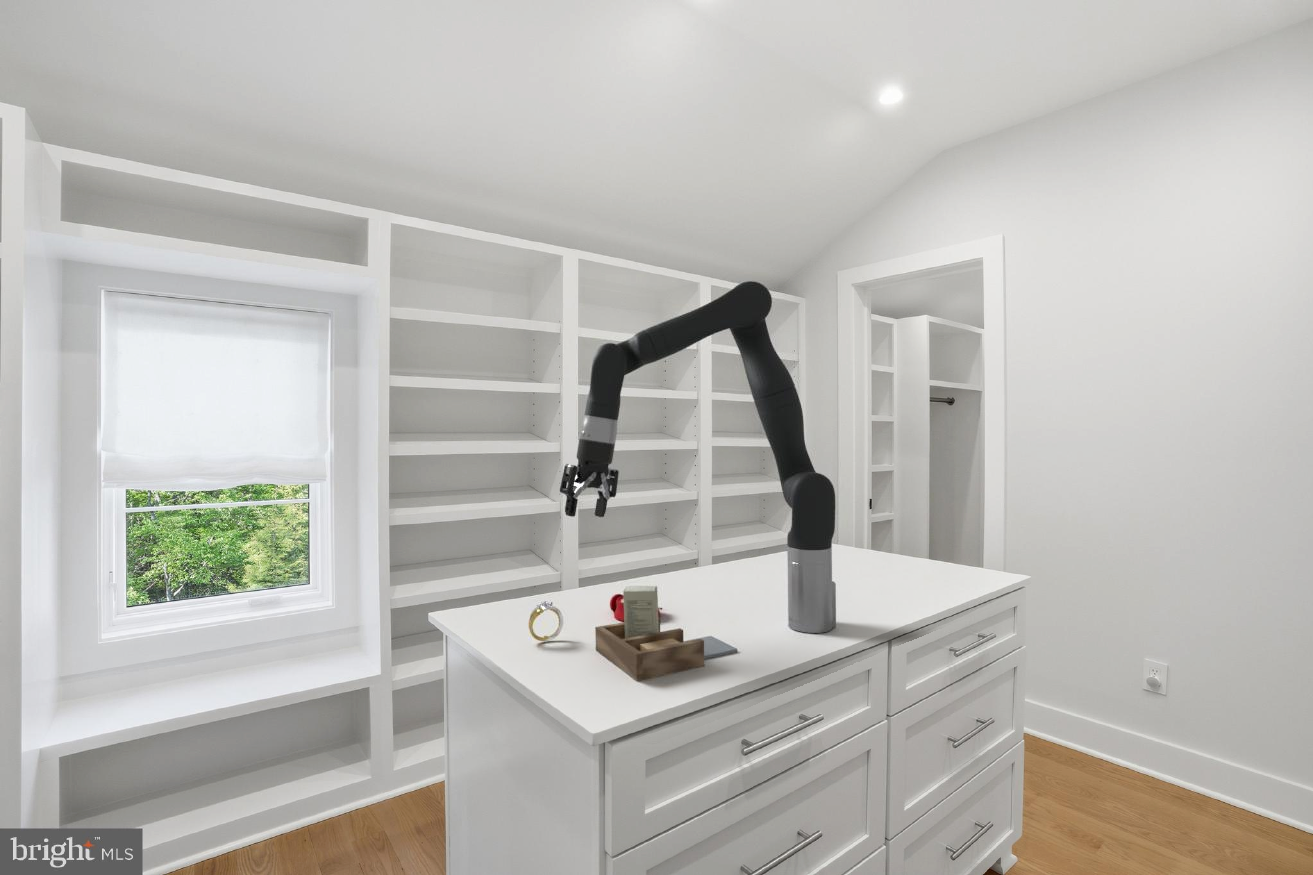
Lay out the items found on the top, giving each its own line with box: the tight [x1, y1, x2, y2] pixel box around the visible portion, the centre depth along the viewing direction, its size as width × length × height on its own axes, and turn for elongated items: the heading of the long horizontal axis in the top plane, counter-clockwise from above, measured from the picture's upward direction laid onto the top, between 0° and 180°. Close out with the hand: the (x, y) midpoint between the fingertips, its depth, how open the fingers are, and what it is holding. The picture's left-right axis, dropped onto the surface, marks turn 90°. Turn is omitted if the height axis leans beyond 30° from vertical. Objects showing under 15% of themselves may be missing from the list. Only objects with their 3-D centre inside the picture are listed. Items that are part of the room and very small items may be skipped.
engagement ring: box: [527, 601, 564, 643], centre depth 124 cm, size 7×3×8 cm, turn 110°
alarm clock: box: [609, 593, 663, 622], centre depth 143 cm, size 11×6×15 cm
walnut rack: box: [595, 617, 705, 682], centre depth 114 cm, size 14×17×4 cm
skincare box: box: [622, 585, 659, 639], centre depth 118 cm, size 6×4×12 cm
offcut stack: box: [640, 638, 680, 651], centre depth 111 cm, size 8×5×4 cm, turn 118°
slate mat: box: [683, 635, 738, 660], centre depth 119 cm, size 9×9×1 cm
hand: (585, 516), depth 128 cm, fingers open, 8 cm apart
